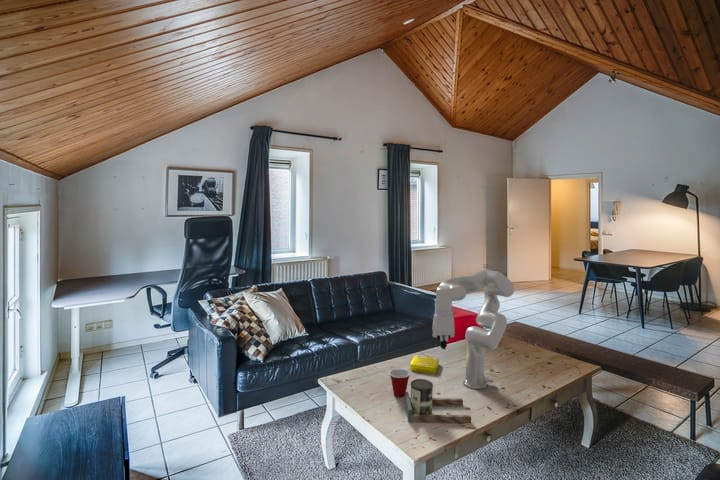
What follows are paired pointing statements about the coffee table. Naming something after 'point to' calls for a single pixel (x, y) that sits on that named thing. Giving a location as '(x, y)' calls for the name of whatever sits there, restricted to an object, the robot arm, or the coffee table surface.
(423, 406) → the coffee can
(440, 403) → the frame
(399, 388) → the plastic cup
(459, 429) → the coffee table surface
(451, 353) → the coffee table surface
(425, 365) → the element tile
